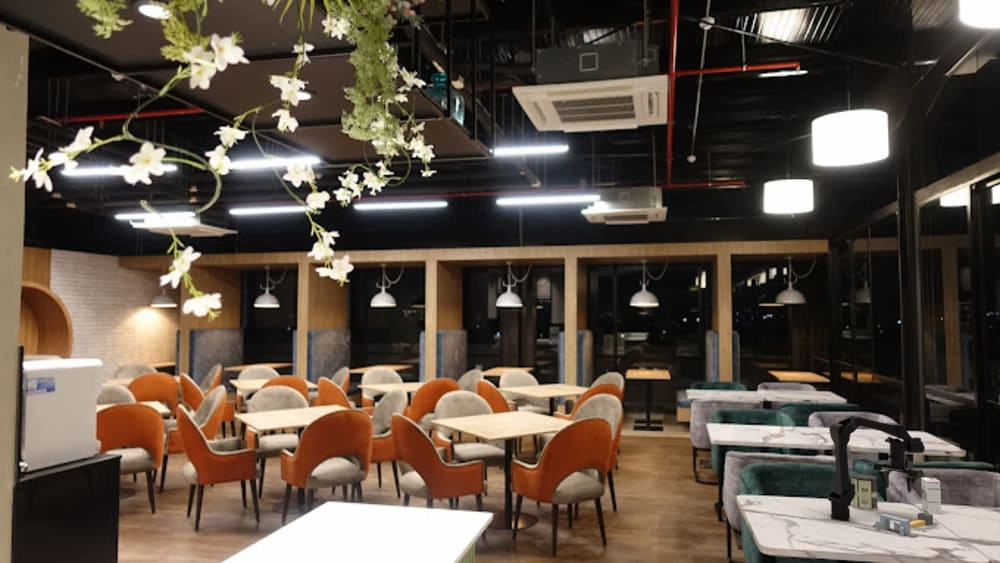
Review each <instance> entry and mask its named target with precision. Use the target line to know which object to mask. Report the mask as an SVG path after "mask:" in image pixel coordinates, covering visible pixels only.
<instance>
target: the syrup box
mask: <svg viewBox="0 0 1000 563" xmlns="http://www.w3.org/2000/svg"><path fill="white" fill-rule="evenodd" d="M920 479H921V480H920V483H921V484H920V485H921V504H922V505H921V506H922V510H923V511H924V513H927V514H931V515H934V514H935V515H942V498H941V497H942V496H941V481H940V480H938V479H937V478H934V477H921V478H920Z"/></svg>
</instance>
